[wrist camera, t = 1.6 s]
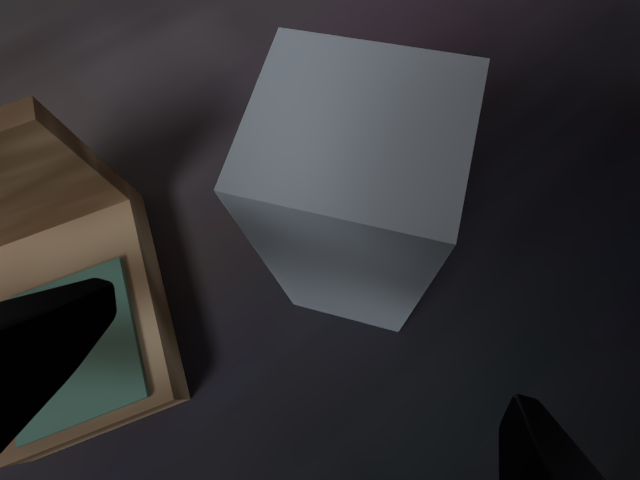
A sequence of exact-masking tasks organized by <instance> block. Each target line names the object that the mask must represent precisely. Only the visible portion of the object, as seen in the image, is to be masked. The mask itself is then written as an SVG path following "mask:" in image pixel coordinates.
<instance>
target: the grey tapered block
mask: <svg viewBox="0 0 640 480" xmlns="http://www.w3.org/2000/svg"><path fill="white" fill-rule="evenodd" d="M489 61H490V58H483V57H476V56H469V55H463V54H456V53H449V52H442V51H435V50H429V49H422V48H415V47H408V46H402V45H395V44H388V43H381V42H374V41H368V40H361V39H354V38H347V37H341V36H334V35H327V34H320V33H313V32H307V31H300V30H293V29H286V28H280V27H279V28H278V30H277V33H276V35H275V38H274V40H273V43H272V45H271V48H270V51H269V53H268V56H267V58H266V61H265V63H264V66H263V68H262V71H261V73H260V76H259V78H258V81H257V83H256V86H255V88H254V91H253V93H252V96H251V98H250V101H249V103H248V106H247V108H246V111H245V113H244V116H243V118H242V121H241V123H240V126H239V128H238V131H237V133H236V136H235V138H234V141H233V143H232V146H231V148H230V151H229V153H228V156H227V158H226V161H225V163H224V166H223V168H222V171H221V173H220V176H219V179H218V181H217V184H216V186H215V189H214V192H215V193H216V195H217V196H218V197H219V199H220V200H221V202H222V203H223V205H224V206H225V207H226V209H227V210H228V212H229V213H230V214H231V216H232V217H233V219H234V220H235V222H236V223H237V224H238V226H239V227H240V229H241V230H242V232H243V233H244V234H245V236H246V237H247V239H248V240H249V241H250V243H251V244H252V246H253V247H254V249H255V250H256V251H257V253H258V254H259V256H260V257H261V258H262V260H263V261H264V263H265V264H266V266H267V267H268V268H269V270H270V271H271V273H272V274H273V275H274V277H275V278H276V280H277V281H278V283H279V284H280V285H281V287H282V288H283V290H284V291H285V293H286V294H287V295H288V297H289V298H290V300H291V301H292V302H293V304H295V305H298V306H302V307H306V308H310V309H313V310H317V311H321V312H325V313H329V314H332V315H336V316H340V317H344V318H347V319H351V320H355V321H359V322H363V323H366V324H370V325H374V326H378V327H382V328H385V329H389V330H393V331H397V332H399V330H400V329H401V327H402V326H403V324H404V323H405V321H406V320H407V318H408V317H409V315H410V314H411V312H412V311H413V309H414V308H415V306H416V305H417V303H418V302H419V300H420V298H421V297H422V295H423V294H424V292H425V291H426V289H427V288H428V286H429V285H430V283H431V282H432V280H433V279H434V277H435V276H436V274H437V273H438V271H439V270H440V268H441V267H442V265H443V264H444V262H445V261H446V259H447V258H448V256H449V255H450V253H451V252H452V250H453V249H454V247H455V246H456V242H457V237H458V231H459V226H460V220H461V215H462V209H463V204H464V198H465V193H466V187H467V182H468V176H469V171H470V165H471V160H472V154H473V149H474V143H475V138H476V132H477V127H478V121H479V116H480V110H481V105H482V99H483V94H484V88H485V83H486V77H487V72H488V66H489Z"/></svg>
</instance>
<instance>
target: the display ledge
mask: <svg viewBox="0 0 640 480" xmlns="http://www.w3.org/2000/svg"><path fill="white" fill-rule="evenodd" d="M90 278H101V279H104V280H108V281H110V282H112V283H113V285H114V288H115V297H116V306H117V313H116V317H115V319H114V321H113V322H112V323H111V325H110V326H109V327H108V329H107V330H106V331H105V333H104V334H103V335H102V337H101V338H100V339H99V341H98V342H97V343H96V345H95V346H94V347H93V349H92V350H91V351H90V353H89V354H88V355H87V357H86V358H85V359H84V361H83V362H82V363H81V365H80V366H79V367H78V368H77V370H76V371H75V372H74V373H73V375H72V376H71V377H70V378H69V379H68V380H67V381H66V383H65V384H64V385H63V386H62V387H61V388H60V389H59V390H58V391H57V392H56V394H55V395H54V396H53V397H52V398H51V399H50V400H49V401H48V402H47V403H46V404H45V406H44V407H43V408H42V409H41V410H40V411H39V412H38V413H37V414H36V415H35V417H34V418H33V419H32V420H31V421H30V422H29V423H28V424H27V425H26V426H25V428H24V429H23V430H22V431H21V432H20V433H19V434H18V435H17V436H16V437H15V438H14V440H13V441H12V442H11V443H10V444H9V445H8V446H7V447H6V448H5V449H4V451H3V452H2V453H1V454H0V468H1V467H5V466H10V465H15V464H20V463H25V462H30V461H34V460H36V459H39V458H42V457H44V456H47V455H49V454H52V453H54V452H57V451H59V450H62V449H65V448H67V447H70V446H72V445H75V444H77V443H80V442H82V441H85V440H88V439H90V438H93V437H95V436H98V435H100V434H103V433H105V432H108V431H111V430H113V429H116V428H118V427H121V426H123V425H126V424H128V423H131V422H134V421H136V420H139V419H141V418H144V417H146V416H149V415H151V414H154V413H157V412H159V411H162V410H164V409H167V408H169V407H172V406H174V405H177V404H180V403H182V402H185V401H187V400H190V395H189V390H188V386H187V382H186V378H185V373H184V369H183V365H182V361H181V357H180V352H179V348H178V344H177V340H176V335H175V331H174V327H173V323H172V319H171V314H170V310H169V306H168V302H167V297H166V293H165V289H164V285H163V281H162V276H161V272H160V268H159V264H158V259H157V255H156V251H155V247H154V243H153V238H152V234H151V230H150V226H149V221H148V217H147V213H146V209H145V205H144V200H143V196H142V195H141V194H140V193H139V192H138V191H137V190H135V189H134V188H133V187H132V186H131V185H130V184H129V183H128V182H127V181H126V180H123V179H122V178H121V177H120V176H119V175H118V174H117V173H116V172H115V171H114V170H112V169H111V168H110V167H109V166H108V165H107V164H106V163H105V162H104V161H103V160H102V159H101V158H99V157H98V156H97V155H96V154H95V153H94V152H93V151H92V150H91V149H90V148H89V147H87V146H86V145H85V144H84V143H83V142H82V141H81V140H80V139H79V138H78V137H77V136H75V135H74V134H73V133H72V132H71V131H70V130H69V129H68V128H67V127H66V126H65V125H64V124H62V123H61V122H60V121H59V120H58V119H57V118H56V117H55V116H54V115H53V114H52V113H50V112H49V111H48V110H47V109H46V108H45V107H44V106H43V105H42V104H41V103H40V102H38V101H37V100H36V99H35V98H34V97H33V96H30V97H27V98H24V99H21V100H18V101H16V102H13V103H10V104H7V105H4V106H1V107H0V301H4V300H8V299H12V298H16V297H20V296H24V295H28V294H32V293H36V292H39V291H43V290H47V289H51V288H55V287H59V286H63V285H67V284H71V283H75V282H79V281H82V280H86V279H90Z"/></svg>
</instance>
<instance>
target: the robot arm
mask: <svg viewBox="0 0 640 480" xmlns="http://www.w3.org/2000/svg"><path fill="white" fill-rule="evenodd" d="M116 313H117V306H116V297H115V288H114V285H113V283H112V282H110V281H108V280H104V279H101V278H90V279H86V280H82V281H79V282H75V283H71V284H67V285H63V286H59V287H55V288H51V289H47V290H43V291H39V292H36V293H32V294H28V295H24V296H20V297H16V298H12V299H8V300H4V301H0V454H1V453H2V452H3V451H4V449H5V448H6V447H7V446H8V445H9V444H10V443H11V442H12V441H13V440H14V438H15V437H16V436H17V435H18V434H19V433H20V432H21V431H22V430H23V429H24V428H25V426H26V425H27V424H28V423H29V422H30V421H31V420H32V419H33V418H34V417H35V415H36V414H37V413H38V412H39V411H40V410H41V409H42V408H43V407H44V406H45V404H46V403H47V402H48V401H49V400H50V399H51V398H52V397H53V396H54V395H55V394H56V392H57V391H58V390H59V389H60V388H61V387H62V386H63V385H64V384H65V383H66V381H67V380H68V379H69V378H70V377H71V376H72V375H73V373H74V372H75V371H76V370H77V368H78V367H79V366H80V365H81V363H82V362H83V361H84V359H85V358H86V357H87V355H88V354H89V353H90V351H91V350H92V349H93V347H94V346H95V345H96V343H97V342H98V341H99V339H100V338H101V337H102V335H103V334H104V333H105V331H106V330H107V329H108V327H109V326H110V325H111V323H112V322H113V321H114V319H115V317H116ZM499 480H606V479H605V478H604V477H603V476H602V475H601V473H600V472H599V471H598V470H597V469H596V468H595V466H594V465H593V464H592V463H591V462H590V460H589V459H588V458H587V457H586V456H585V455H584V453H583V452H582V451H581V450H580V449H579V447H578V446H577V445H576V444H575V443H574V442H573V440H572V439H571V438H570V437H569V436H568V434H567V433H566V432H565V431H564V430H563V429H562V427H561V426H560V425H559V424H558V423H557V421H556V420H555V419H554V418H553V417H552V416H551V414H550V413H549V412H548V411H547V410H546V408H545V407H544V406H543V405H542V404H541V403H540V402H539V401H538V400H537V399H535V398H531V397H528V396H524V395H520V394H516V395H514V396H513V397H512V399H511V401H510V403H509V405H508V408H507V410H506V412H505V414H504V416H503V418H502V420H501V423H500V427H499Z"/></svg>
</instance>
